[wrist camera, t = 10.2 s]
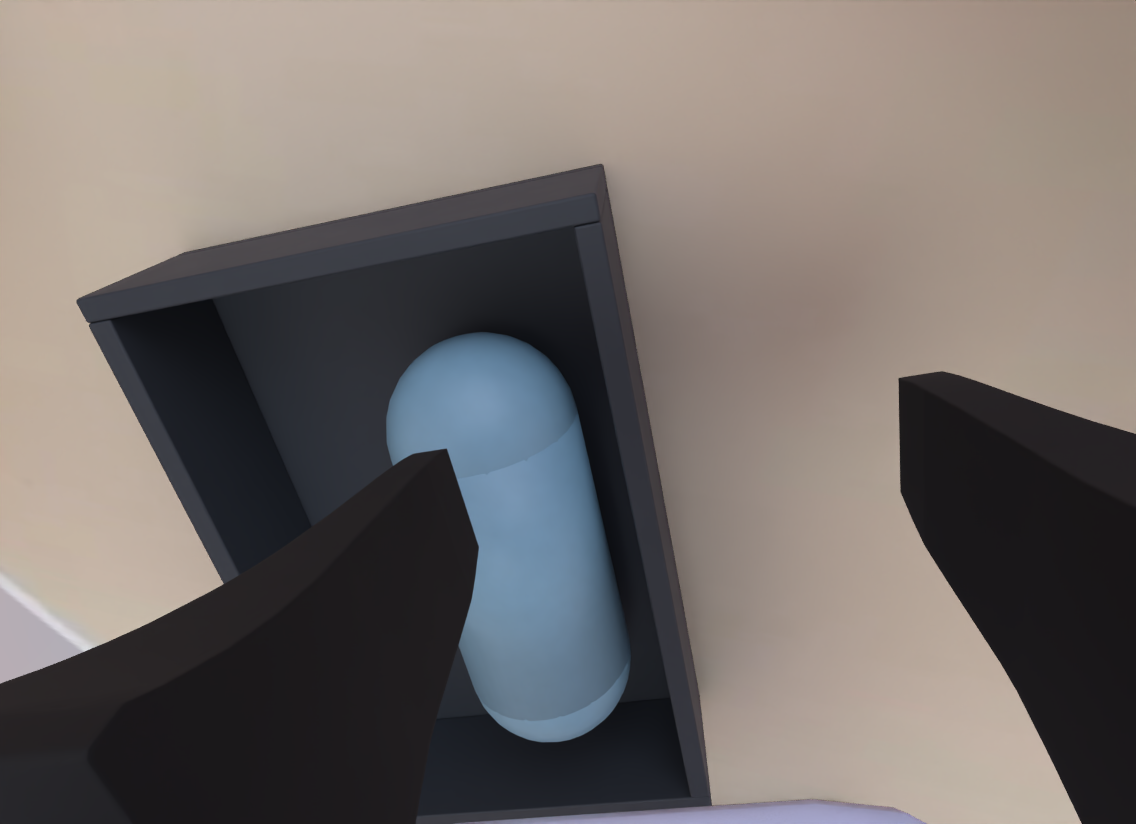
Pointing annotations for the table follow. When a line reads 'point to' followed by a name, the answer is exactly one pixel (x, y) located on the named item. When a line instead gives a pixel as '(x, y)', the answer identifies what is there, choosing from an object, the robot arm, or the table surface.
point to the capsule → (522, 532)
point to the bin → (360, 453)
